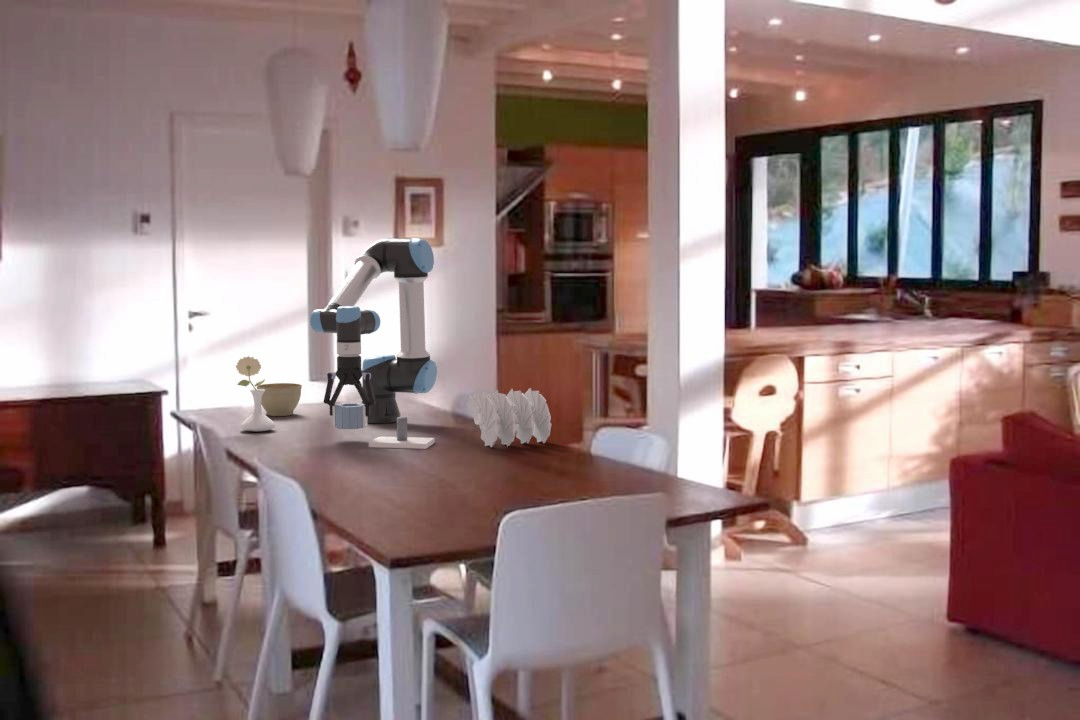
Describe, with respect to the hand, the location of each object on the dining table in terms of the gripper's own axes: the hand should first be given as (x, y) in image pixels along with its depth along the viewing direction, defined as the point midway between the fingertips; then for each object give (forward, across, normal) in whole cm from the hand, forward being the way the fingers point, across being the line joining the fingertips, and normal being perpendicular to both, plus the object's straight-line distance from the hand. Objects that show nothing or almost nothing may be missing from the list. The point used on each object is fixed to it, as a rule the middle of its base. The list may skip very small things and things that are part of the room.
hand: (350, 426), depth 375 cm
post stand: (+5, +18, -4) cm, 19 cm away
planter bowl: (+6, -43, +56) cm, 71 cm away
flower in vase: (+5, -37, +16) cm, 41 cm away
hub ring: (0, 0, 0) cm, 0 cm away
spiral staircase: (+5, +52, +2) cm, 52 cm away
